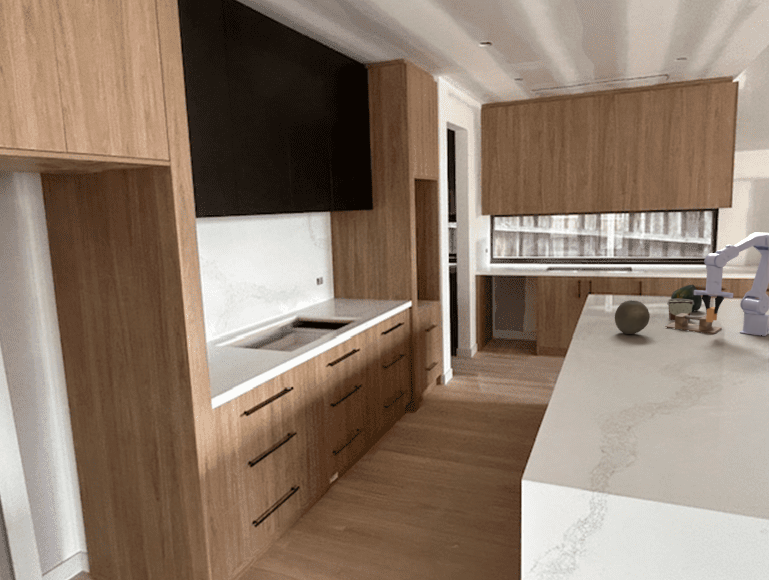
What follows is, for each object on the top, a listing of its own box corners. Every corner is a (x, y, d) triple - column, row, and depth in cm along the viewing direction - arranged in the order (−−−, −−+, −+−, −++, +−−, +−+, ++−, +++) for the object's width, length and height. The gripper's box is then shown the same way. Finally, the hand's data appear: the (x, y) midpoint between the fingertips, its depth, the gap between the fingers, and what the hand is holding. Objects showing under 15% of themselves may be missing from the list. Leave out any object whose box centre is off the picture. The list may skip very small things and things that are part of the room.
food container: (687, 318, 279) (688, 298, 277) (693, 320, 273) (694, 300, 271) (661, 318, 280) (663, 298, 279) (666, 320, 274) (668, 300, 272)
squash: (660, 299, 303) (678, 280, 293) (679, 297, 310) (697, 279, 299) (676, 319, 295) (695, 301, 285) (695, 317, 301) (714, 300, 291)
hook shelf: (721, 329, 253) (722, 316, 252) (713, 334, 244) (714, 321, 243) (674, 323, 267) (674, 311, 266) (665, 327, 258) (665, 315, 257)
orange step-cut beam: (716, 320, 241) (717, 307, 240) (712, 322, 236) (713, 309, 235) (710, 319, 242) (711, 306, 241) (705, 321, 237) (706, 309, 236)
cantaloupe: (612, 336, 243) (613, 302, 241) (615, 329, 256) (617, 297, 254) (647, 339, 237) (649, 304, 235) (649, 332, 249) (651, 299, 247)
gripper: (692, 281, 239) (690, 312, 241) (731, 284, 229) (728, 316, 231) (697, 279, 244) (695, 310, 246) (735, 282, 234) (733, 313, 236)
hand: (711, 313), depth 238 cm, fingers closed on orange step-cut beam, 2 cm apart
